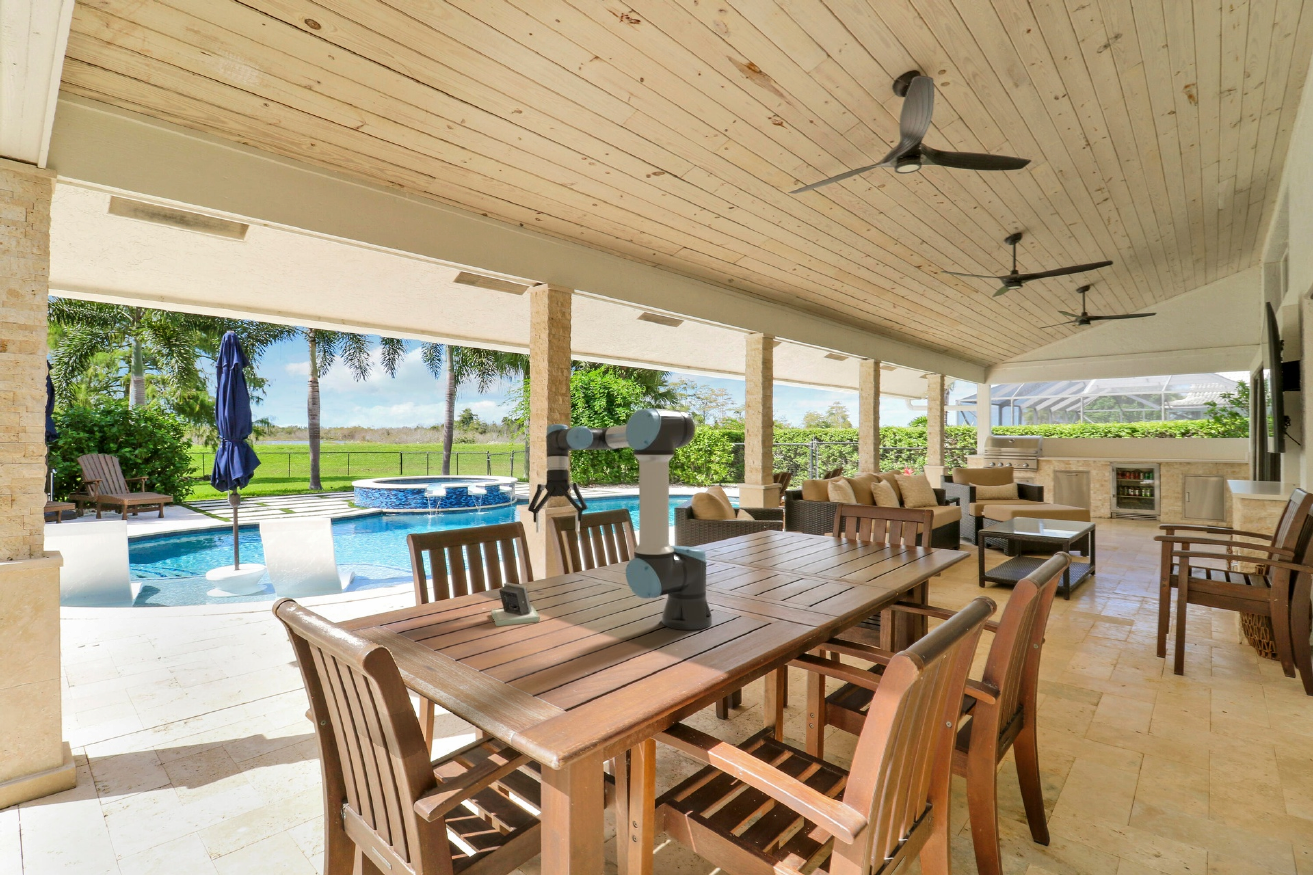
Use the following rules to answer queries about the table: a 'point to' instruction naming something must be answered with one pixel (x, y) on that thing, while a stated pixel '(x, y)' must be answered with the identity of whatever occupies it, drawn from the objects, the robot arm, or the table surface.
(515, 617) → the board
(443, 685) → the table surface
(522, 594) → the electrical switch
